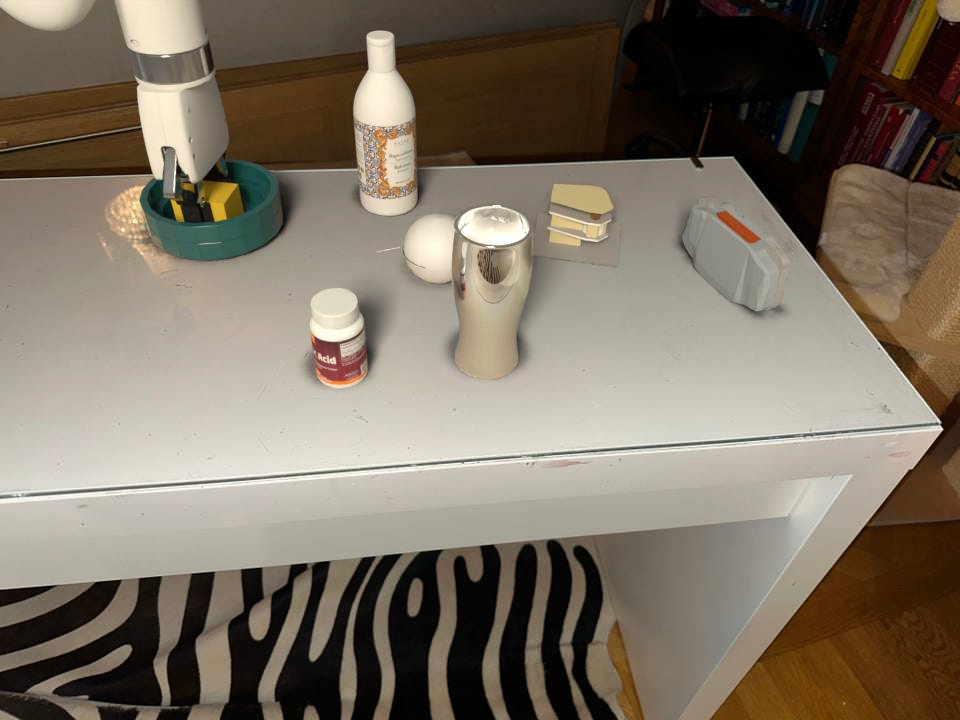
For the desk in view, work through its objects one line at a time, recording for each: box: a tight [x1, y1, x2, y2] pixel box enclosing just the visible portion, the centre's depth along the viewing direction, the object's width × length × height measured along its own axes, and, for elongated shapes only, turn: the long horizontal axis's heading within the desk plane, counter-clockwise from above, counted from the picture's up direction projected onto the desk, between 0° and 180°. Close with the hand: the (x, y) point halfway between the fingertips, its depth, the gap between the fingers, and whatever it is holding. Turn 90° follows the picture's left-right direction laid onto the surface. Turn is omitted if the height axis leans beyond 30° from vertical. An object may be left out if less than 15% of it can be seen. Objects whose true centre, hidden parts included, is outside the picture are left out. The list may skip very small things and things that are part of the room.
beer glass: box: [451, 203, 535, 381], centre depth 67 cm, size 7×7×15 cm
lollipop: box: [376, 212, 456, 284], centre depth 79 cm, size 10×7×7 cm
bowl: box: [139, 157, 284, 262], centre depth 85 cm, size 15×15×5 cm
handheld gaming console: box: [681, 195, 791, 312], centre depth 79 cm, size 14×3×8 cm, turn 24°
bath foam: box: [352, 30, 419, 217], centre depth 85 cm, size 7×7×20 cm
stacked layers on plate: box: [533, 183, 622, 268], centre depth 85 cm, size 10×9×6 cm
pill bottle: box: [308, 287, 369, 389], centre depth 67 cm, size 5×5×8 cm
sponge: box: [171, 181, 244, 222], centre depth 84 cm, size 6×4×4 cm
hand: (211, 219), depth 86 cm, fingers closed on sponge, 4 cm apart
